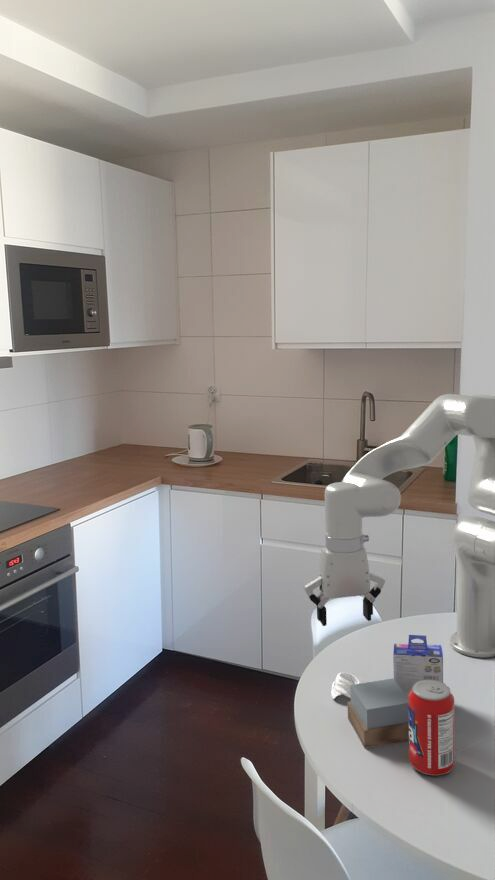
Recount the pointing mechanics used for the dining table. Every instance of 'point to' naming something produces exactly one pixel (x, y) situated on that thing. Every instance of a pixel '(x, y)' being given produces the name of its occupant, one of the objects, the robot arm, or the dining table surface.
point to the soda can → (431, 727)
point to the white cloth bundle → (343, 685)
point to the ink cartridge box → (417, 663)
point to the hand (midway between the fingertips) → (345, 620)
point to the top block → (380, 703)
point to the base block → (377, 731)
